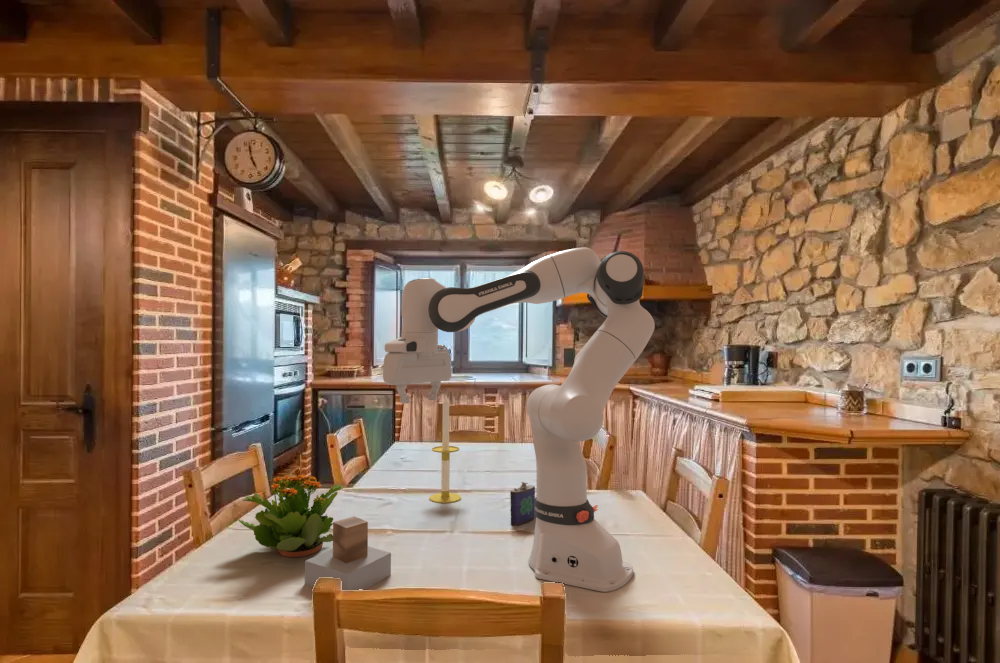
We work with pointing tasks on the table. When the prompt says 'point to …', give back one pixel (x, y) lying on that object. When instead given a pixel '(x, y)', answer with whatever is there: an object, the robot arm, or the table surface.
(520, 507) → the flask
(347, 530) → the walnut block
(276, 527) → the potted flower
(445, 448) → the wheel axle
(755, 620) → the table surface
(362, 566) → the plate
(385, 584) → the table surface
